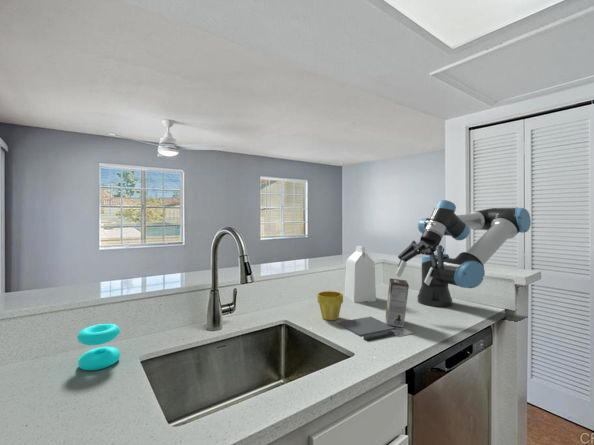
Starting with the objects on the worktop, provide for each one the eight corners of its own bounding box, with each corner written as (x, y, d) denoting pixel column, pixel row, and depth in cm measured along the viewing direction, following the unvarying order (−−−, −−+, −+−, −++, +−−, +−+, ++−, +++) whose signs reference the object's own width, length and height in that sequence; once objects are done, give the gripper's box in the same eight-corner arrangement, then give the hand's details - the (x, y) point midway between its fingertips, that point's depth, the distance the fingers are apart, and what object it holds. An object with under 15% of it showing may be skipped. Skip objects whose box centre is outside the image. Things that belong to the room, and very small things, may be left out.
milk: (344, 296, 162) (344, 245, 161) (365, 294, 165) (365, 245, 164) (354, 302, 150) (354, 248, 150) (376, 300, 153) (376, 247, 153)
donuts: (84, 338, 81) (72, 329, 87) (85, 376, 81) (72, 364, 88) (125, 327, 89) (111, 319, 95) (126, 362, 89) (112, 352, 95)
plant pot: (315, 314, 133) (315, 290, 132) (339, 313, 134) (339, 290, 133) (319, 322, 122) (319, 297, 122) (345, 321, 123) (345, 296, 123)
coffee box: (384, 317, 127) (389, 277, 126) (401, 319, 126) (406, 280, 125) (386, 325, 118) (391, 282, 117) (404, 328, 117) (409, 285, 116)
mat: (370, 317, 128) (370, 316, 128) (395, 329, 116) (395, 327, 116) (337, 323, 121) (337, 322, 121) (359, 336, 109) (359, 334, 109)
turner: (402, 328, 116) (402, 326, 116) (413, 333, 111) (413, 330, 111) (360, 337, 108) (360, 334, 108) (369, 342, 103) (369, 339, 103)
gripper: (403, 226, 139) (382, 268, 135) (457, 233, 118) (435, 283, 114) (412, 235, 143) (392, 276, 138) (466, 243, 122) (444, 292, 117)
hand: (411, 279), depth 126 cm, fingers open, 13 cm apart
